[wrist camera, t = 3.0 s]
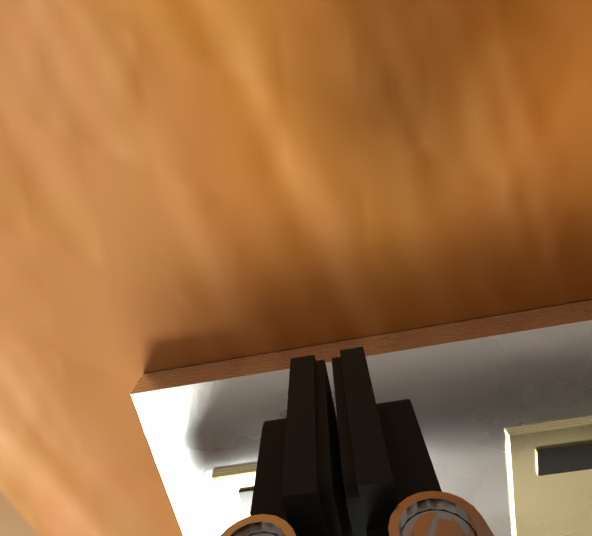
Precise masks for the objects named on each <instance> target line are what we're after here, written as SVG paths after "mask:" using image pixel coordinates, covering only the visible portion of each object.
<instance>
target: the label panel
mask: <svg viewBox="0 0 592 536" xmlns="http://www.w3.org/2000/svg"><path fill="white" fill-rule="evenodd" d="M362 346H363V348H364V352H365V357H366V361H367V366H368V370H369V374H370V379H371V383H372V388H373V392H374V396H375V401H376V404H378V403H385V402H391V401H398V400H404V399H410V401H411V403H412V406H413V409H414V412H415V415H416V418H417V421H418V424H419V426H420V429H421V432H422V435H423V438H424V441H425V444H426V447H427V450H428V453H429V455H430V458H431V461H432V464H433V467H434V470H435V473H436V476H437V479H438V482H439V485H440V487H441V490H442V492H448V493H450V494H453V495H456V496H459V497H461V498H463V499H464V500H466V501H467V502H469V503H470V504H472V505H473V506H474V507H475V508H476V510H477V511H478V512H479V513H480V514H481V515H482V517H483V518H484V520H485V521H486V523H487V525H488V526H489V528H490V529H491V531H492V533H493V534H494V536H592V300H589V301H583V302H577V303H571V304H564V305H558V306H552V307H546V308H540V309H534V310H528V311H522V312H516V313H510V314H504V315H498V316H492V317H486V318H480V319H474V320H467V321H461V322H455V323H449V324H443V325H437V326H431V327H425V328H419V329H413V330H407V331H401V332H395V333H389V334H383V335H377V336H371V337H364V338H358V339H352V340H346V341H340V342H334V343H328V344H322V345H316V346H310V347H304V348H298V349H292V350H286V351H280V352H274V353H267V354H261V355H255V356H249V357H243V358H237V359H231V360H225V361H219V362H213V363H207V364H201V365H195V366H189V367H183V368H177V369H171V370H164V371H158V372H152V373H146V374H143V375H142V377H141V378H140V380H139V381H138V383H137V385H136V386H135V388H134V389H133V391H132V393H131V397H132V400H133V402H134V405H135V408H136V410H137V413H138V416H139V418H140V421H141V424H142V426H143V429H144V432H145V434H146V437H147V440H148V442H149V445H150V447H151V450H152V453H153V455H154V458H155V461H156V463H157V466H158V469H159V471H160V474H161V477H162V479H163V482H164V485H165V487H166V490H167V493H168V495H169V498H170V501H171V503H172V506H173V509H174V511H175V514H176V517H177V519H178V522H179V525H180V527H181V530H182V533H183V535H184V536H220V535H221V534H222V533H223V532H224V531H225V530H226V529H227V528H228V527H230V526H231V525H232V524H234V523H235V522H237V521H239V520H241V519H244V518H246V517H248V516H250V511H251V504H252V497H253V490H254V483H255V475H256V468H257V461H258V454H259V447H260V440H261V432H262V426H263V423H264V422H265V421H269V420H276V419H282V418H286V417H287V402H288V387H289V372H290V360H291V358H296V357H302V356H308V355H315V358H316V361H317V360H323V359H324V360H325V364H326V368H327V373H328V378H329V383H330V387H331V392H332V397H333V402H334V406H335V411H336V401H335V390H334V380H333V369H332V358H335V357H340V350H344V349H350V348H356V347H362ZM336 416H337V412H336Z"/></svg>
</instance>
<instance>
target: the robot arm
mask: <svg viewBox="0 0 592 536" xmlns="http://www.w3.org/2000/svg"><path fill="white" fill-rule="evenodd" d="M332 369H333V380H334V390H335V401H336V411H335V406H334V402H333V397H332V392H331V387H330V383H329V378H328V373H327V368H326V364H325V360H324V359H323V360H317V361H316V358H315V355H308V356H302V357H296V358H291V360H290V372H289V387H288V402H287V417H286V418H282V419H276V420H269V421H265V422H264V423H263V426H262V432H261V440H260V447H259V454H258V461H257V468H256V475H255V483H254V490H253V497H252V504H251V511H250V516H248V517H246V518H244V519H241V520H239V521H237V522H235V523H234V524H232V525H231V526H230V527H228V528H227V529H226V530H225V531H224V532H223V533H222V534H221V535H220V536H494V534H493V533H492V531H491V529H490V528H489V526H488V525H487V523H486V521H485V520H484V518H483V517H482V515H481V514H480V513H479V512H478V511H477V510H476V508H475V507H474V506H473V505H472V504H470V503H469V502H467V501H466V500H464V499H463V498H461V497H459V496H456V495H453V494H450V493H448V492H442V490H441V487H440V485H439V482H438V479H437V476H436V473H435V470H434V467H433V464H432V461H431V458H430V455H429V453H428V450H427V447H426V444H425V441H424V438H423V435H422V432H421V429H420V426H419V424H418V421H417V418H416V415H415V412H414V409H413V406H412V403H411V401H410V399H404V400H398V401H391V402H385V403H378V404H376V401H375V396H374V392H373V388H372V383H371V379H370V374H369V370H368V366H367V361H366V357H365V352H364V348H363V346H362V347H356V348H350V349H344V350H340V357H335V358H332ZM336 412H337V416H336Z"/></svg>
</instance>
